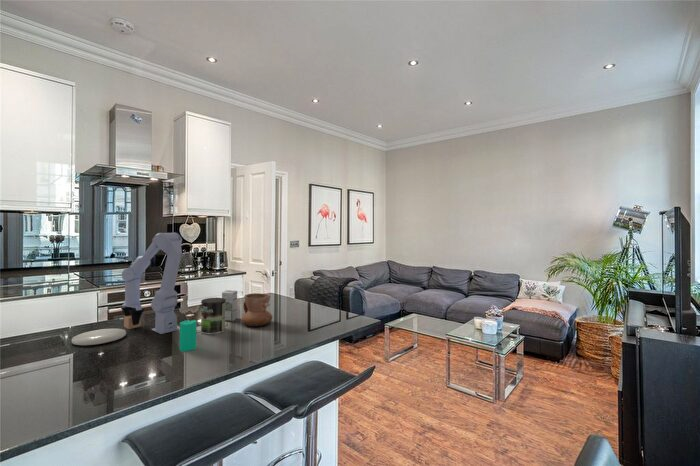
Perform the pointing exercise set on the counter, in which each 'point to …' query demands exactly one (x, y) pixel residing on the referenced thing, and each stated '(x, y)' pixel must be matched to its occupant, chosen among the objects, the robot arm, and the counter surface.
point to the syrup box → (230, 305)
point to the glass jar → (213, 315)
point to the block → (130, 322)
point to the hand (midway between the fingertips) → (132, 323)
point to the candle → (188, 335)
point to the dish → (98, 336)
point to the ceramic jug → (256, 309)
